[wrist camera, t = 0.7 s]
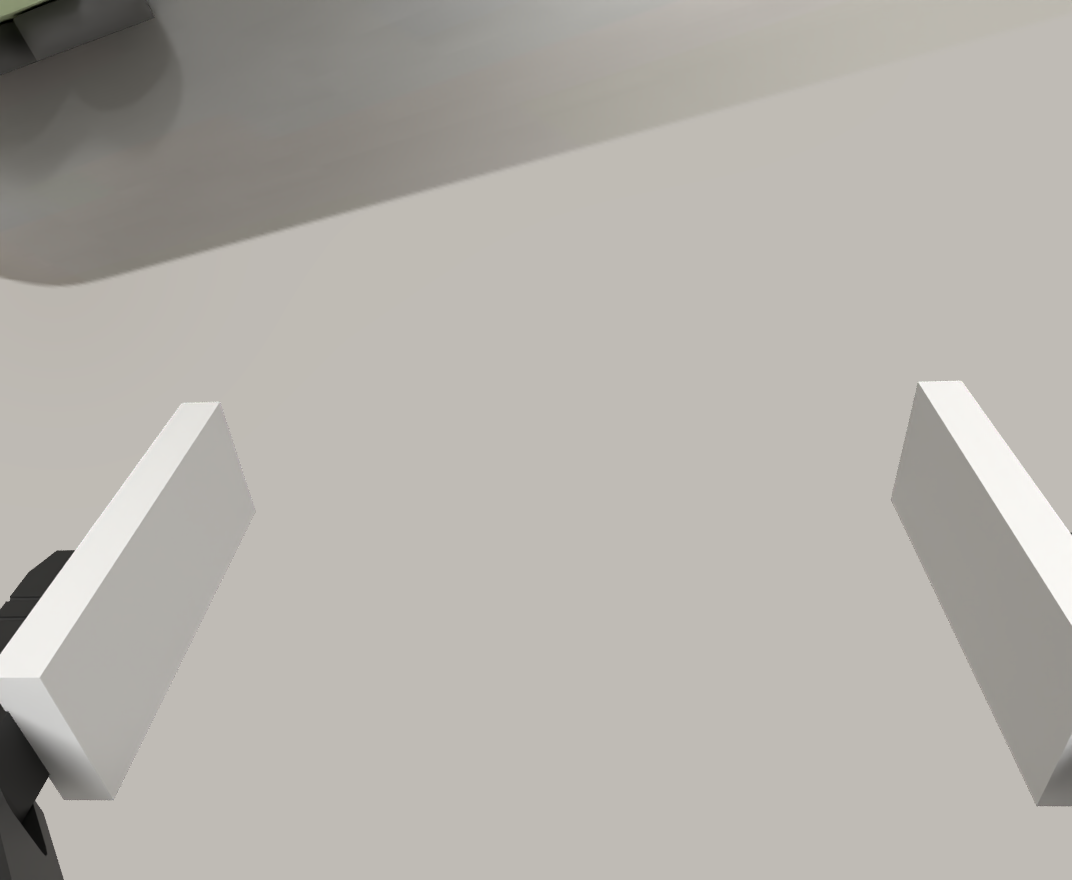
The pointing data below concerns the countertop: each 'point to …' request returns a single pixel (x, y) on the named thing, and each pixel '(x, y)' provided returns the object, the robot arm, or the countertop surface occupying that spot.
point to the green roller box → (60, 26)
